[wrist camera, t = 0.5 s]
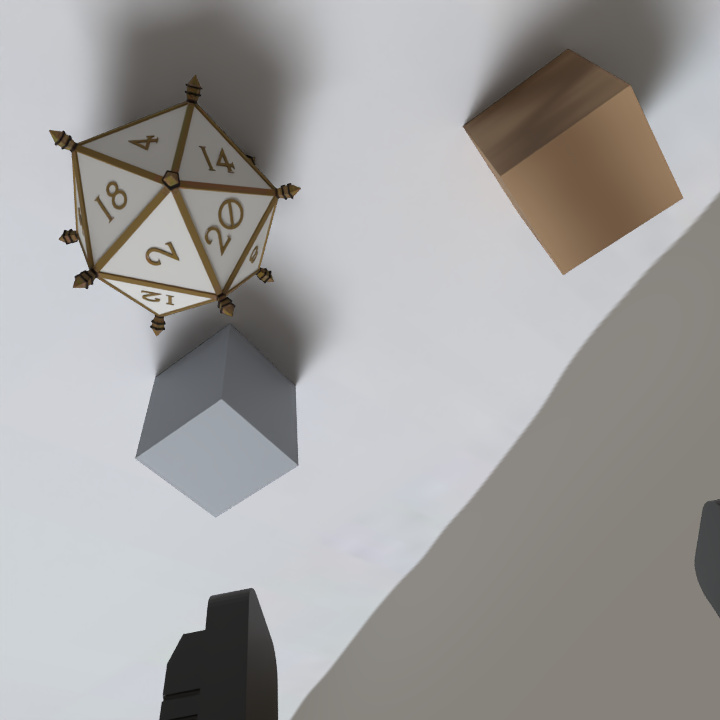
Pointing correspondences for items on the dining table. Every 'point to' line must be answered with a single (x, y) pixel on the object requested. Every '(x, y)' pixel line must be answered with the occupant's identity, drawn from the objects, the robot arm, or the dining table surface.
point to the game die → (170, 210)
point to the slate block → (220, 423)
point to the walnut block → (575, 158)
